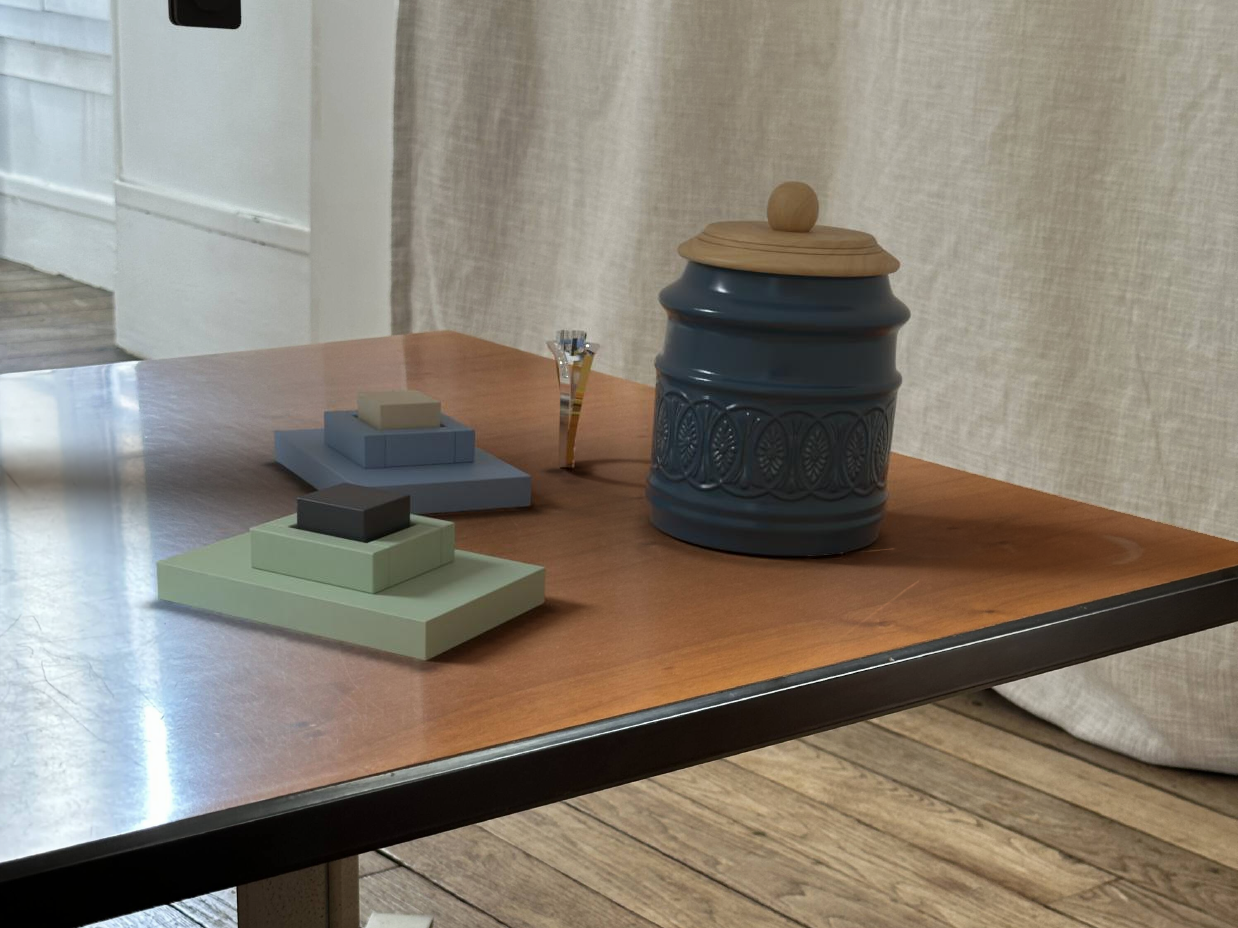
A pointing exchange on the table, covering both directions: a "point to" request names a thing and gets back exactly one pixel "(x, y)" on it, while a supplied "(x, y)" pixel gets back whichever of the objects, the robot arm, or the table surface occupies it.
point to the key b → (398, 410)
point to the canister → (776, 386)
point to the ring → (571, 386)
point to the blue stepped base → (405, 463)
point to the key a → (353, 512)
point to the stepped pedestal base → (356, 585)
